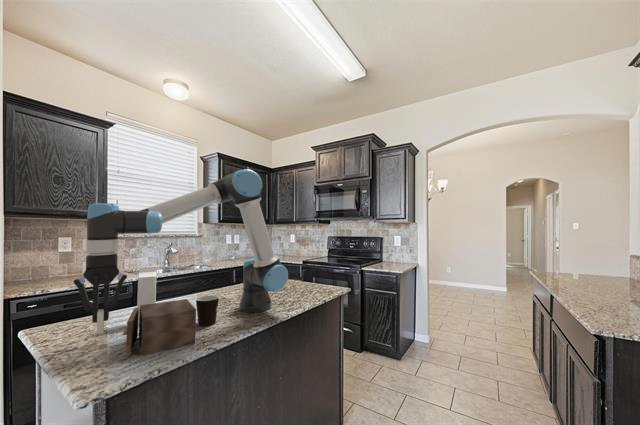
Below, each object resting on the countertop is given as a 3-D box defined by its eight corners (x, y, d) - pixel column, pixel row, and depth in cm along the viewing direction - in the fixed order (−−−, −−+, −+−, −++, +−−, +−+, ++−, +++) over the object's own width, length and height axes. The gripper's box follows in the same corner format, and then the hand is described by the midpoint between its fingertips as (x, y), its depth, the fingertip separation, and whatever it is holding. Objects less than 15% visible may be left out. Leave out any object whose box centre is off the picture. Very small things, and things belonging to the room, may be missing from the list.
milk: (137, 322, 110) (139, 267, 112) (155, 319, 113) (156, 266, 115) (136, 326, 105) (138, 269, 107) (154, 324, 108) (156, 268, 110)
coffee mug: (210, 328, 104) (210, 301, 104) (190, 326, 105) (191, 300, 106) (226, 318, 115) (227, 294, 116) (208, 317, 117) (209, 293, 117)
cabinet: (185, 328, 103) (186, 298, 104) (195, 343, 89) (196, 309, 90) (138, 337, 95) (139, 305, 95) (140, 355, 81) (142, 318, 81)
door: (137, 336, 95) (138, 307, 95) (130, 355, 80) (132, 320, 81) (129, 337, 94) (130, 307, 94) (120, 357, 79) (122, 322, 80)
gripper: (128, 251, 90) (126, 324, 89) (75, 254, 82) (73, 333, 81) (128, 253, 84) (126, 331, 83) (71, 256, 76) (69, 342, 75)
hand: (100, 332), depth 82 cm, fingers closed
